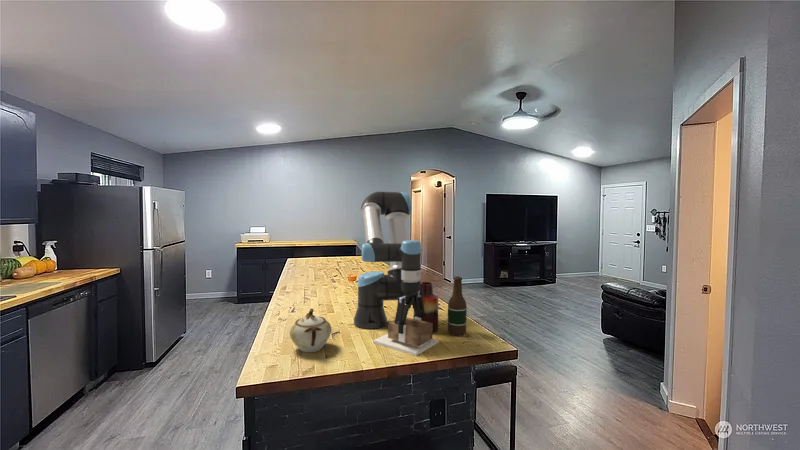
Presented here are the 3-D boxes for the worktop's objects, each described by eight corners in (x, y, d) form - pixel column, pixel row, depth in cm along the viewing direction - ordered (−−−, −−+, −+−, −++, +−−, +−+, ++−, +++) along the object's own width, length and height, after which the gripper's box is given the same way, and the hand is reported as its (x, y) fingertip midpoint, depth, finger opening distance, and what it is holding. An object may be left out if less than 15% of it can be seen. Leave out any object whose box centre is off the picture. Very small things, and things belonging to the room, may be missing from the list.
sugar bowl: (335, 355, 122) (335, 313, 121) (291, 361, 117) (291, 318, 116) (327, 336, 140) (327, 300, 140) (288, 341, 135) (288, 303, 134)
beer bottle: (465, 337, 142) (467, 279, 141) (446, 335, 143) (447, 278, 142) (466, 330, 149) (467, 275, 148) (448, 329, 151) (449, 274, 150)
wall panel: (373, 342, 134) (373, 326, 134) (397, 331, 147) (397, 316, 147) (415, 355, 122) (416, 337, 122) (438, 342, 135) (438, 326, 135)
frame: (388, 337, 134) (388, 322, 133) (403, 330, 142) (403, 316, 142) (418, 346, 125) (418, 330, 125) (432, 338, 134) (432, 323, 133)
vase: (409, 331, 148) (410, 284, 147) (417, 324, 158) (418, 279, 157) (434, 335, 144) (434, 286, 143) (440, 327, 154) (441, 281, 153)
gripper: (401, 286, 121) (400, 349, 122) (434, 277, 140) (433, 331, 141) (385, 284, 126) (384, 344, 127) (418, 275, 144) (417, 327, 145)
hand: (410, 337), depth 134 cm, fingers closed on frame, 10 cm apart
